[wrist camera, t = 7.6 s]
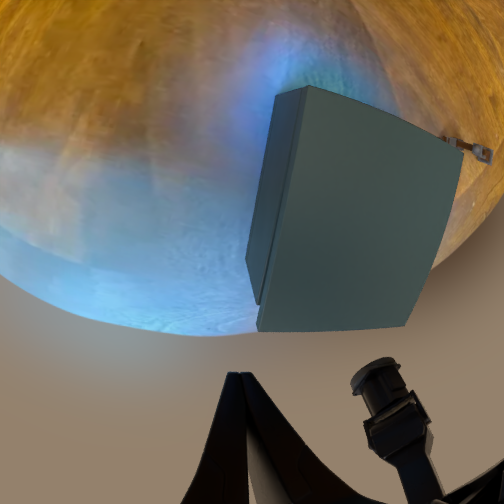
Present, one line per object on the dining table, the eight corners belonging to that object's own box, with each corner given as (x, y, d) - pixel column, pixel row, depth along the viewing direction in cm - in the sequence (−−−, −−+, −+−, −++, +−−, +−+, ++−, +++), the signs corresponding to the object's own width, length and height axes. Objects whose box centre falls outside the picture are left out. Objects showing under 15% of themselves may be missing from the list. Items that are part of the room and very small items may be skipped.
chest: (366, 268, 24) (398, 306, 19) (245, 259, 22) (256, 305, 17) (407, 137, 18) (455, 150, 13) (275, 95, 16) (302, 86, 11)
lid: (399, 320, 19) (404, 326, 18) (255, 323, 16) (257, 332, 15) (456, 151, 13) (464, 152, 13) (302, 87, 11) (308, 84, 10)
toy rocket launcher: (441, 128, 17) (486, 141, 14) (461, 138, 21) (495, 150, 18) (438, 147, 18) (483, 162, 15) (459, 153, 22) (492, 166, 19)
